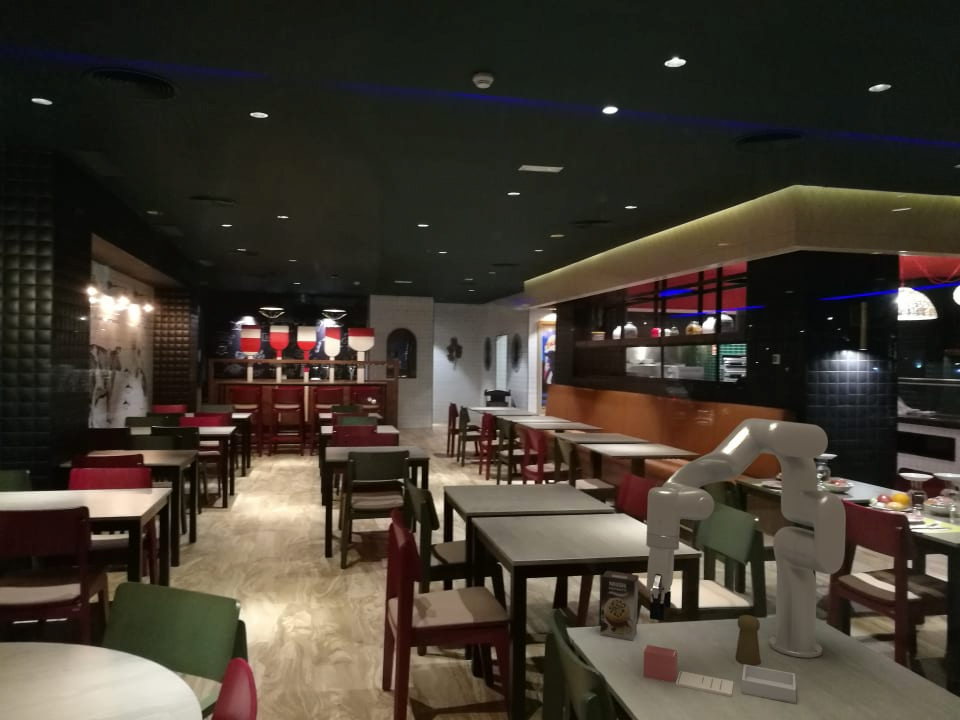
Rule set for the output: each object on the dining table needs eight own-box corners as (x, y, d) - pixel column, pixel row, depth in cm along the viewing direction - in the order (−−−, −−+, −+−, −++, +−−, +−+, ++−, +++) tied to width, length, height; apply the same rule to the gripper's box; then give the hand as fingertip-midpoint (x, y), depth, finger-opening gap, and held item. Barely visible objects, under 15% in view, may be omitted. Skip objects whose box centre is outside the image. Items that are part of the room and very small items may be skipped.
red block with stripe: (646, 669, 165) (647, 644, 165) (676, 675, 162) (677, 649, 162) (643, 677, 161) (643, 651, 161) (673, 683, 158) (674, 656, 158)
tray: (743, 677, 162) (744, 664, 162) (794, 686, 158) (795, 673, 158) (741, 693, 154) (742, 679, 154) (795, 703, 149) (795, 690, 149)
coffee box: (599, 635, 185) (600, 575, 185) (604, 627, 191) (606, 569, 191) (633, 641, 182) (634, 580, 182) (637, 633, 188) (638, 574, 188)
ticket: (679, 673, 163) (680, 670, 163) (733, 683, 158) (733, 681, 158) (675, 685, 157) (675, 682, 157) (731, 696, 152) (731, 693, 152)
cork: (763, 667, 168) (764, 622, 168) (737, 664, 169) (738, 619, 169) (758, 657, 174) (759, 613, 174) (733, 654, 175) (734, 611, 175)
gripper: (652, 531, 171) (650, 600, 171) (639, 546, 155) (637, 622, 155) (683, 535, 168) (681, 605, 168) (673, 551, 152) (671, 628, 152)
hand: (660, 613), depth 162 cm, fingers open, 9 cm apart
